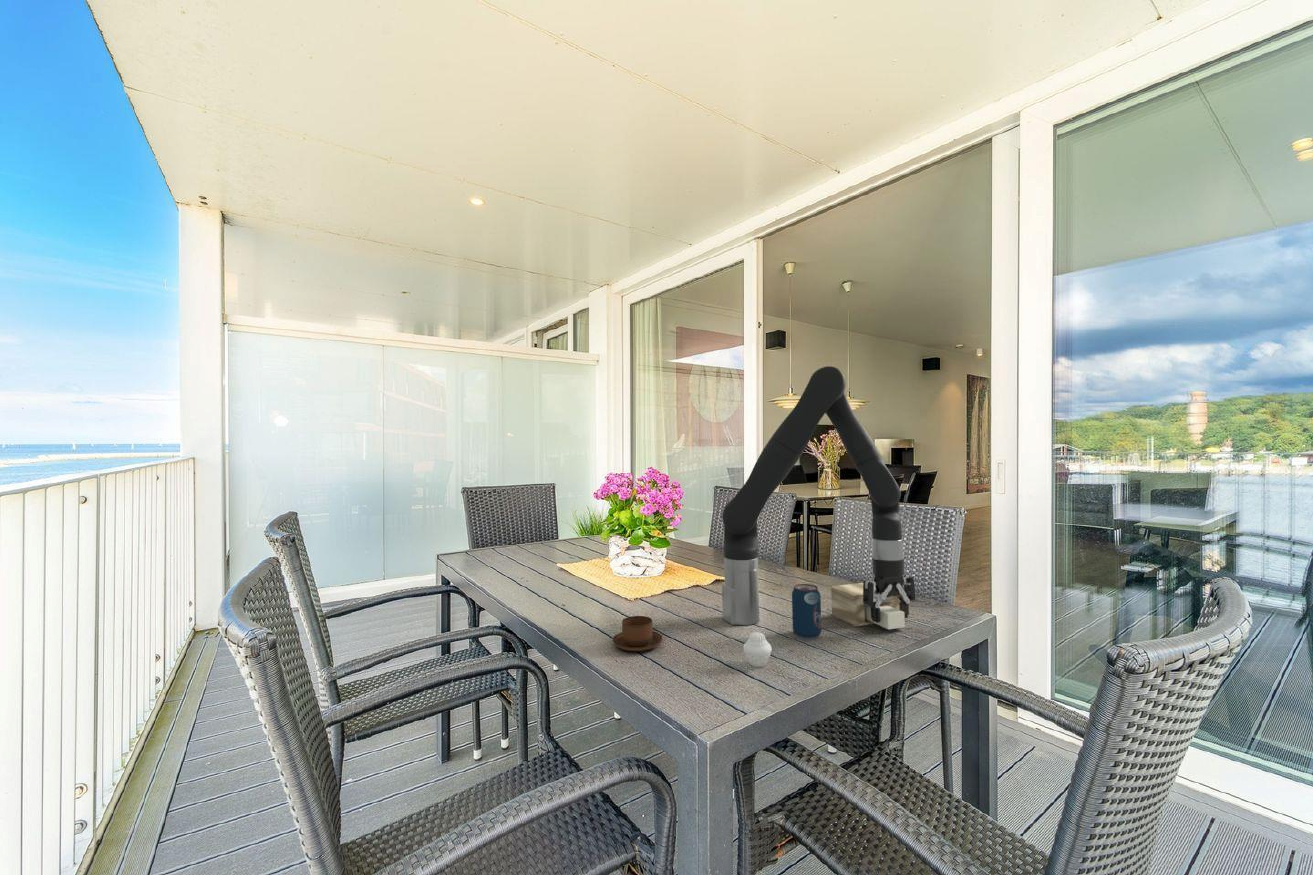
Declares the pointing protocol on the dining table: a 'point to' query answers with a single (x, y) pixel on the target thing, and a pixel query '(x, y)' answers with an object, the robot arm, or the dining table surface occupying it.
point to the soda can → (806, 611)
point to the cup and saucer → (637, 634)
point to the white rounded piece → (757, 649)
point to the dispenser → (854, 603)
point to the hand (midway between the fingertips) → (890, 619)
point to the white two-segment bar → (887, 617)
